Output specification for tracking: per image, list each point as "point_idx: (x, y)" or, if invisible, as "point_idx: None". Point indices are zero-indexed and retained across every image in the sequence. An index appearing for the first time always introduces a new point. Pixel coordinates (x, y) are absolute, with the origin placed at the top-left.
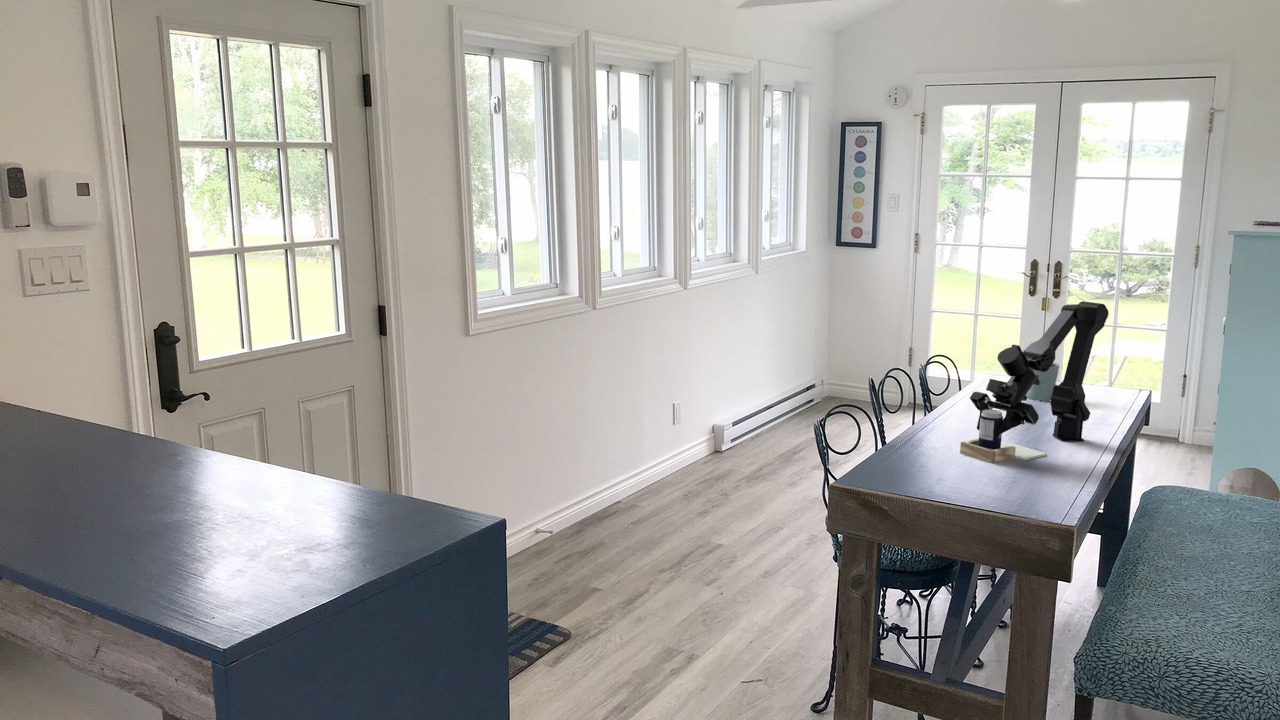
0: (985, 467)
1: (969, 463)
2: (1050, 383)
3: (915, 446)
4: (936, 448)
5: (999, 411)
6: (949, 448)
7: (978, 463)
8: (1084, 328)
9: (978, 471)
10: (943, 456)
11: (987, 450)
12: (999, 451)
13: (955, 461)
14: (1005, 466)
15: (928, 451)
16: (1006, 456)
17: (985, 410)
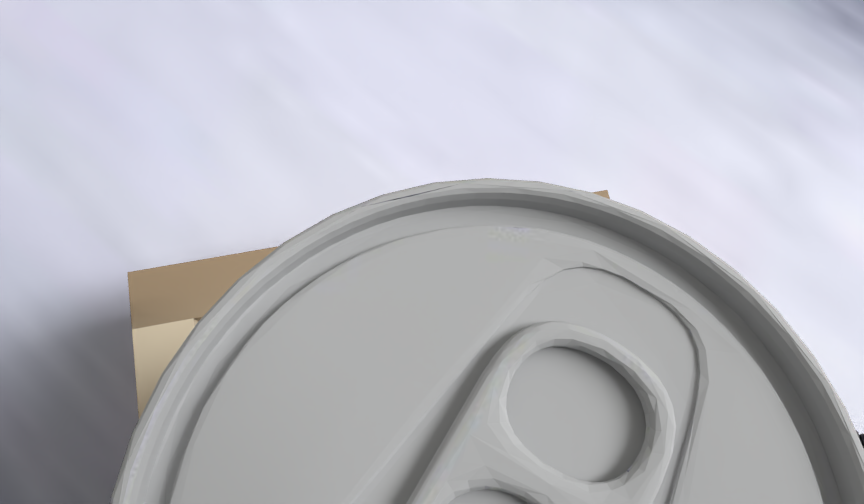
0: (85, 148)
1: (250, 98)
2: None
3: (844, 8)
4: (758, 131)
5: None
6: (739, 244)
7: (216, 172)
8: None
9: (23, 15)
10: (513, 31)
11: (208, 259)
12: (142, 407)
13: (348, 29)
14: (13, 358)
15: (681, 13)
16: None
17: (837, 487)
